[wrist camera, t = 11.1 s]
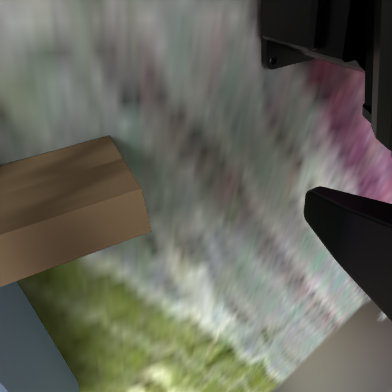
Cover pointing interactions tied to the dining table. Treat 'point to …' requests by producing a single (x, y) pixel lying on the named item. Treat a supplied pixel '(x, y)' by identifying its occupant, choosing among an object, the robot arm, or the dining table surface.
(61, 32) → the dining table surface
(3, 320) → the slate blue tapered plate
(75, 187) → the walnut slotted board
